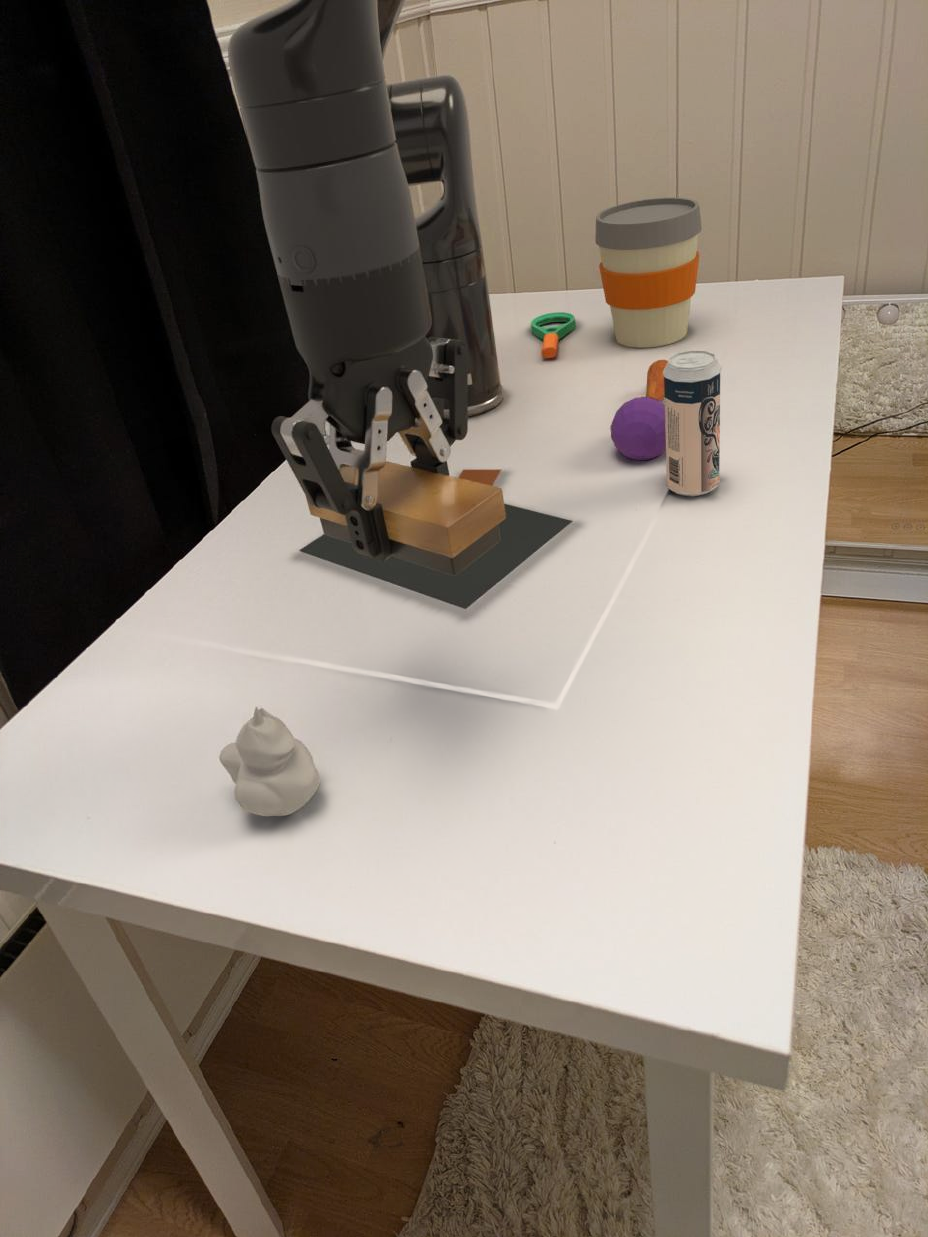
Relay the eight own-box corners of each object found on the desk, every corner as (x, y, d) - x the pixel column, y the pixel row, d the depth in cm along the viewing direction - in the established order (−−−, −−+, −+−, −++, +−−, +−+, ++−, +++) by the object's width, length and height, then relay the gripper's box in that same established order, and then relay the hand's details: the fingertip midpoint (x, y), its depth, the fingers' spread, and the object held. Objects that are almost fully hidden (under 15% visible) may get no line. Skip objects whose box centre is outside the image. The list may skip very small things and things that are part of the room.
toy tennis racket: (533, 323, 127) (531, 311, 126) (576, 318, 126) (575, 306, 125) (525, 362, 115) (524, 349, 114) (573, 357, 114) (572, 344, 113)
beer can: (720, 498, 80) (722, 367, 73) (665, 500, 81) (661, 371, 75) (719, 473, 84) (720, 346, 77) (666, 475, 85) (663, 350, 78)
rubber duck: (300, 841, 55) (263, 744, 50) (213, 819, 57) (170, 725, 53) (344, 778, 59) (313, 682, 54) (260, 760, 61) (224, 667, 57)
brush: (316, 535, 59) (302, 487, 57) (369, 501, 62) (358, 454, 60) (456, 581, 52) (446, 527, 50) (509, 540, 54) (502, 487, 53)
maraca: (694, 351, 99) (676, 415, 83) (684, 404, 102) (664, 475, 86) (639, 343, 100) (611, 404, 84) (631, 396, 103) (602, 464, 87)
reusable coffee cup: (680, 355, 109) (677, 223, 101) (585, 350, 116) (575, 225, 107) (716, 319, 117) (717, 194, 109) (625, 316, 124) (619, 198, 115)
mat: (300, 555, 83) (298, 550, 83) (408, 484, 92) (407, 478, 92) (466, 614, 72) (465, 608, 71) (573, 526, 80) (572, 520, 80)
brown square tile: (452, 493, 89) (451, 488, 88) (464, 474, 92) (463, 469, 92) (491, 494, 88) (490, 488, 87) (502, 474, 91) (501, 469, 90)
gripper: (389, 214, 53) (437, 475, 63) (192, 290, 45) (282, 577, 55) (488, 215, 49) (524, 496, 58) (291, 299, 41) (370, 611, 50)
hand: (407, 534), depth 56 cm, fingers closed on brush, 5 cm apart
